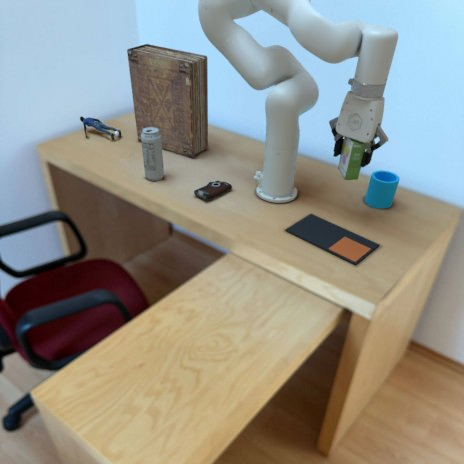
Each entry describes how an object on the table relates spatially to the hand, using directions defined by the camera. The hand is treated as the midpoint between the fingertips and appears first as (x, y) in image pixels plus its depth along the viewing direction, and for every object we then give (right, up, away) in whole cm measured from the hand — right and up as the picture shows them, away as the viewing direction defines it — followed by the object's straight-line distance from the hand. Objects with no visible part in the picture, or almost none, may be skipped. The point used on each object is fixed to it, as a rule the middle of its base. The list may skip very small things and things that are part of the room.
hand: (350, 160), depth 116 cm
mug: (+14, -5, +19) cm, 24 cm away
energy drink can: (-56, +3, +25) cm, 62 cm away
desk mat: (-5, -20, +2) cm, 21 cm away
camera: (-37, -4, +19) cm, 42 cm away
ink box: (0, -3, +3) cm, 4 cm away
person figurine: (-81, +26, +49) cm, 98 cm away
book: (-53, +20, +44) cm, 72 cm away
